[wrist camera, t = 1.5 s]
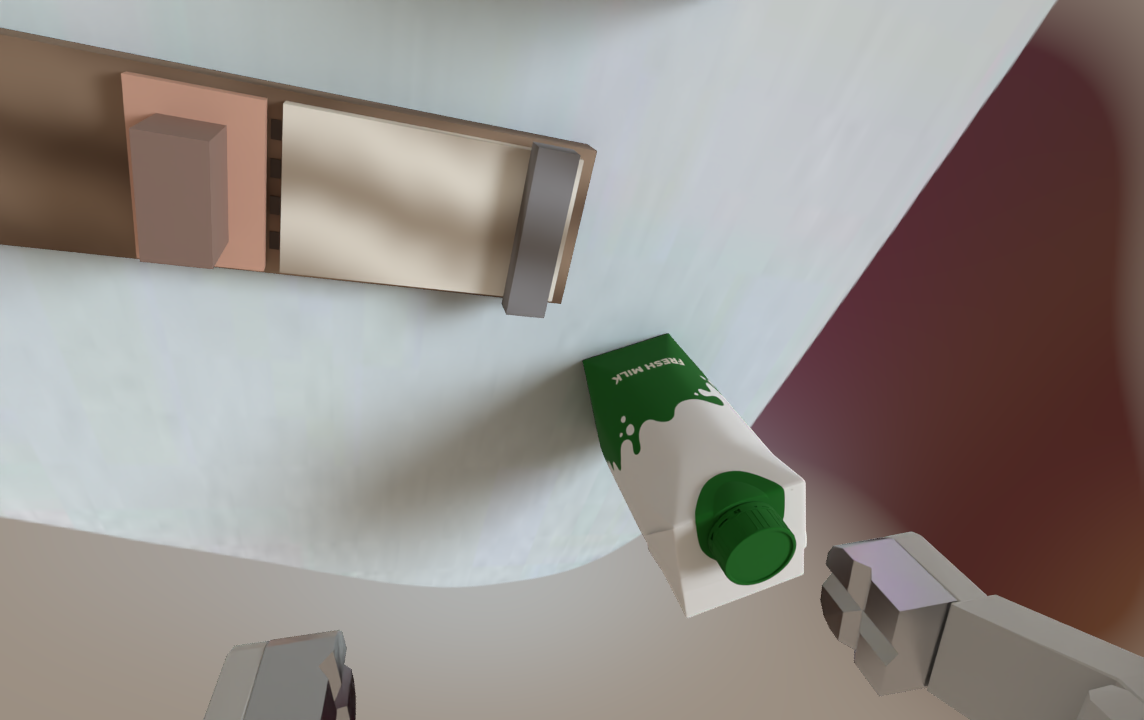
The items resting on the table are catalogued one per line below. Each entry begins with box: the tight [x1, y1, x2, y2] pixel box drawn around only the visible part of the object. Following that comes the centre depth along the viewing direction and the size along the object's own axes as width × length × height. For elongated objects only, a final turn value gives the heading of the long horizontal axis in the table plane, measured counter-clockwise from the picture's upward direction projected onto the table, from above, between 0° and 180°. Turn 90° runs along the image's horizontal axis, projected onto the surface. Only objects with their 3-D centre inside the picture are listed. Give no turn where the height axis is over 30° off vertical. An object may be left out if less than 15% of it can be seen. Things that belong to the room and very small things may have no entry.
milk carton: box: [583, 334, 807, 618], centre depth 41 cm, size 9×9×20 cm
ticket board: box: [0, 28, 597, 318], centre depth 33 cm, size 10×38×5 cm, turn 77°
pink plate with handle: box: [121, 71, 267, 271], centre depth 31 cm, size 9×6×5 cm, turn 167°
